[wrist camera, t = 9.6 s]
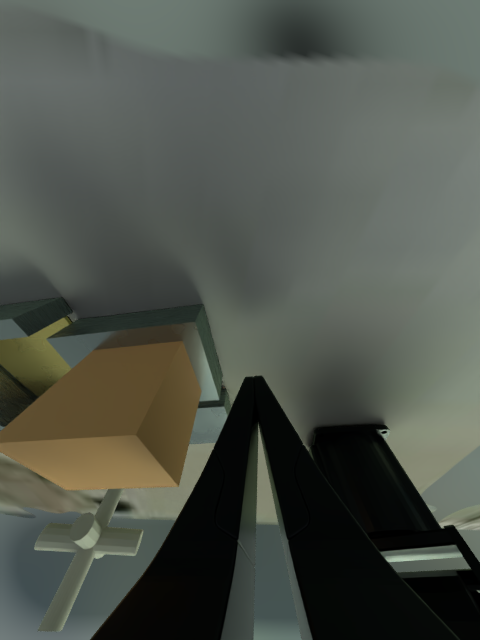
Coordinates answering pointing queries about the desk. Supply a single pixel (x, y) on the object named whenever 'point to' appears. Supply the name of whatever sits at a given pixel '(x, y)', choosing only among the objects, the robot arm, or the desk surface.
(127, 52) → the desk surface
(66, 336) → the sliding lid box
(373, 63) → the desk surface
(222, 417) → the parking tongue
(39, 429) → the block
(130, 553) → the pipe connector
